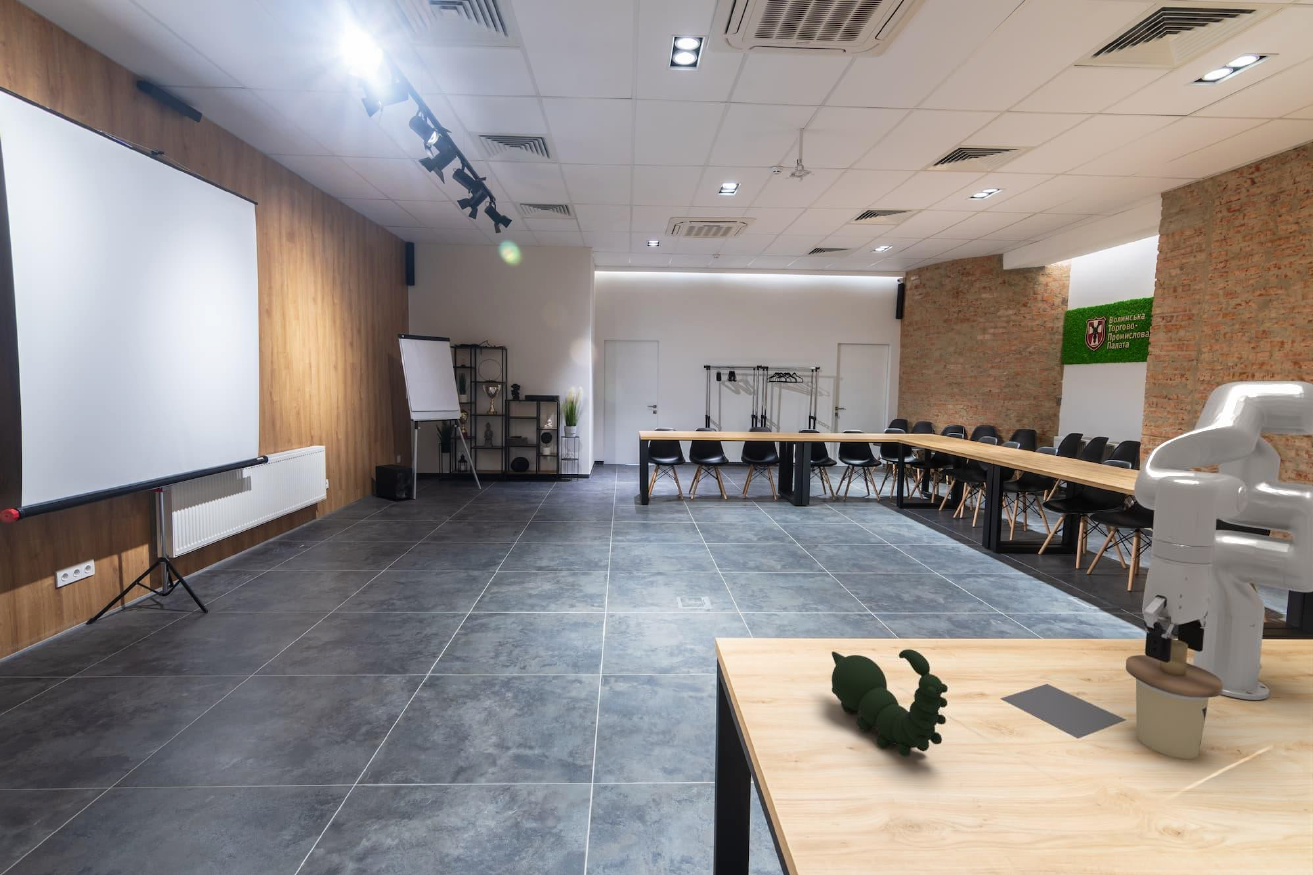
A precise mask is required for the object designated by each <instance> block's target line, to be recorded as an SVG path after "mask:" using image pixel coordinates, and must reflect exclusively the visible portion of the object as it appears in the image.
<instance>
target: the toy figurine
mask: <svg viewBox="0 0 1313 875" xmlns="http://www.w3.org/2000/svg"><path fill="white" fill-rule="evenodd" d="M831 656H832V659H833V661H834V665H835V666H834V668H833V671H832V674H831V692H832V693H833V695H835V696H836V697H837V699H838V700H839V702H840V706H841V708H842V710H843V711H844V712H846V713H848V714H850V715H853V714H858V713H859V715H860V716H859V717H857V720H856V725H857V727H858V729H859V730H861V731H862V732H864V733H867V732H869V731H871V729H872V728H874V729H876V731H877V732H878V735H877V736H876V739H875V741H876V743H877V745H878V747H879V748H883V749H884V748H885V749H886V748H888V747H889V745H890V744H893V745H896V746H897V747H896V748H897V752H898V754H899V755H900V756H902V757H906V758H907V757H908V756H909V755H911V752H912V749H917V750H918V751H920V752H927V751H928V749H929V748H930V742H929V741H931V743H932V744H933V745H940V744H942V742H943V738H942V735H941V734H940V733H939V732H937V731H936V725H937V724H938V725H944V724H946V722H947V719H946V716H945V715H943V714H941V713H939V710H940V708H943V709H944V708H946V707H947V706H948V700H947V699H946V697H943V696H941V695H943V694H944V693H947V692H948V686H947V685H946V684H945V683H942V680H941V679H940V678H939V677H938V676H936V675H934V674H932V673H930V671H931V666H930V663H929V662H928V660H927V659H926V657H925V656H923V654H921V653H920V652H918V651H916V650H914V649H910V648H908V649H907V648H906V649H903V650H901V651H900V652H899V654H898V657H899V659H905V660H906V661H907V662H908V663H909V664H910V666H911V668H912V669H913V670H914V672H915V673H916V674H917V675H918V676H920V678H919V680H918V688H917V689H916V690H915V691H914V695H913V697H914V698H913V700H914V701H913V702H912V703H911V704H910V706H909V711H908V710H907V709H906V708H905V707H903V706H901V705H899V701H898V699H897V698H896V696H895V695H894V693H893V692H892V691H889V690H888V682H887V678H886V675H885V673H884V672H883V670H882V669H881V667H880V666H879V665H878V664H877V663H876V662H875V661H874V660H873V659H871V658H868V657H867V656H863V655H860V654H853V655H852V654H851V655H847V656H844V655H842V654H840V653H838V652H836V651H831Z"/></svg>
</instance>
